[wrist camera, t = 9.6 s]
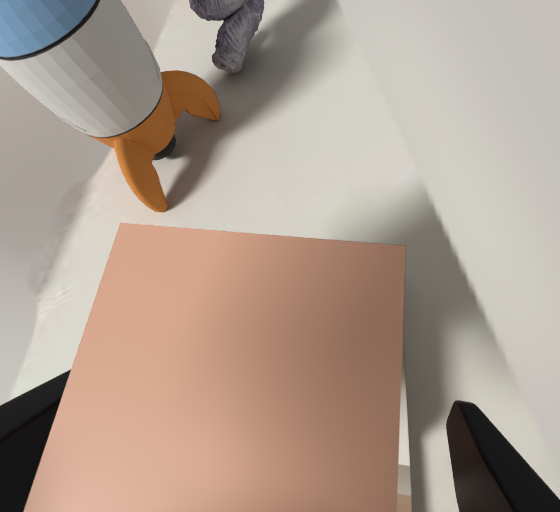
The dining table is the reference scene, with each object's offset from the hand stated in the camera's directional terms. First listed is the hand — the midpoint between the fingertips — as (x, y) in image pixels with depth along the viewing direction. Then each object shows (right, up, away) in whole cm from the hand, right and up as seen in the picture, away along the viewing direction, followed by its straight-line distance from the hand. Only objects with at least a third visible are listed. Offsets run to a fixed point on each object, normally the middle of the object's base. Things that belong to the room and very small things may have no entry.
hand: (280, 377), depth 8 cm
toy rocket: (-9, +11, +16) cm, 21 cm away
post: (+1, -2, +8) cm, 8 cm away
